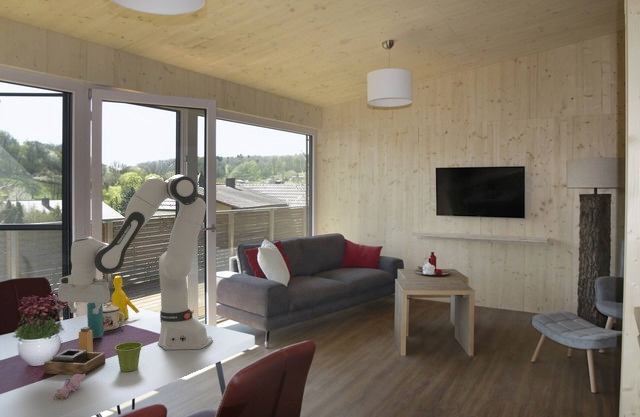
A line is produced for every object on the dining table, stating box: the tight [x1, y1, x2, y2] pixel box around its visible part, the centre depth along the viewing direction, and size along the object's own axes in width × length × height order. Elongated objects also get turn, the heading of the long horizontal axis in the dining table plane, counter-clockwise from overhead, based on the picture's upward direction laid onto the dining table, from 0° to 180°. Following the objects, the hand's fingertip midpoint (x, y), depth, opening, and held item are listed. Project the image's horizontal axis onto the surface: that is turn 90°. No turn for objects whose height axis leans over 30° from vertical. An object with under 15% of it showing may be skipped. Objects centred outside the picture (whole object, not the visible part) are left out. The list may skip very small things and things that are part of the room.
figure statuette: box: [110, 275, 140, 321], centre depth 241 cm, size 18×8×22 cm, turn 85°
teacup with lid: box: [102, 302, 125, 331], centre depth 226 cm, size 12×9×12 cm
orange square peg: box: [78, 326, 94, 352], centre depth 189 cm, size 4×4×11 cm
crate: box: [43, 351, 106, 377], centre depth 177 cm, size 16×12×4 cm
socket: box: [52, 348, 88, 363], centre depth 177 cm, size 8×8×4 cm
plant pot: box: [114, 341, 143, 373], centre depth 176 cm, size 9×9×9 cm
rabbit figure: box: [52, 374, 87, 402], centre depth 157 cm, size 6×6×15 cm
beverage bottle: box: [86, 303, 104, 338], centre depth 210 cm, size 6×7×20 cm
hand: (84, 313), depth 189 cm, fingers open, 8 cm apart
